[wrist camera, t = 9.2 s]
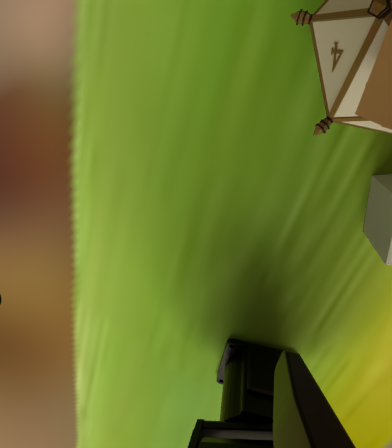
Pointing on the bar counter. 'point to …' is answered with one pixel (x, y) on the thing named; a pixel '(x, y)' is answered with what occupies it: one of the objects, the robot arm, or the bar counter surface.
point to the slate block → (380, 216)
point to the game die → (346, 54)
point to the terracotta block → (379, 87)
